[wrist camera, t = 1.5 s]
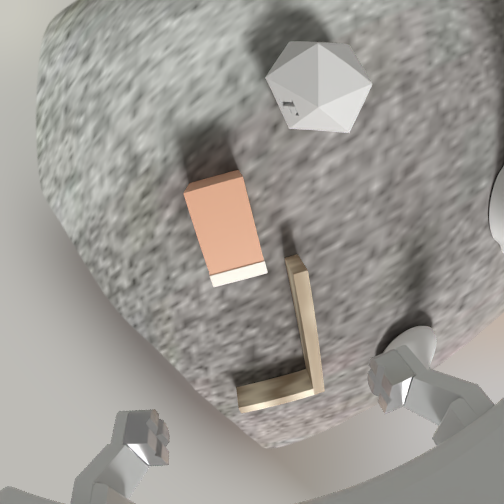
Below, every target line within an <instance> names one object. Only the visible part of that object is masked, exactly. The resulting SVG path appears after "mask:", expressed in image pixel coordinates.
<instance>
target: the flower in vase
mask: <svg viewBox="0 0 504 504" xmlns="http://www.w3.org/2000/svg"><path fill="white" fill-rule="evenodd" d="M436 342H437V338H436V334H435V332H434V330H433V329H432V328H431V327H429V326H416V327H413V328H410V329H408V330H406V331H405V332H403V333H402V334H400V335H399V336H398V337H396V338H395V339H394V340H393V341H392V342H391V343H390V344H389V345H388V347H387V348H386V349H385V351H384V352H383V353H385V352H387V351H389V350H392V349H395V348H397V347H400V346H402V345H406V346H408V348H409V349H410V350H411V351H412V352H413V353H414V355H415V356H416V357H417V358H418V359H419V361H420V362H421V363H422V364H423V365H424V367H425V368H426V369H427V370H429V369H430V364H431V361H432V358H433V355H434V352H435V349H436Z"/></svg>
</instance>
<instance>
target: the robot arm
mask: <svg viewBox="0 0 504 504" xmlns="http://www.w3.org/2000/svg"><path fill="white" fill-rule="evenodd" d="M489 223H490V229H491V233H492V236H493V238H494V239H495V240H496V241H497V242H498V243H499V244H500V247H501V250H502V252H503V253H504V166H503V168H502V169H501V171H500V173H499V174H498V176H497V179H496V181H495V184H494V187H493V191H492V195H491V201H490V210H489ZM369 366H370V368H371V369H370V371H369V372H368V377H367V379H368V385H369V387H370V390H371V391H372V393H373V394H374V395H376V396H379V399H378V403H379V405H380V407H381V408H382V410H383V412H384V413H385V414H386V413H389V412H391V411H394V410H396V409H398V408H401V407H403V406H404V407H405V408H406V409H408V410H410V411H412V412H414V413H416V414H418V415H419V416H421V417H423V418H425V419H427V420H429V421H431V422H433V423H435V424H437V425H438V428H437V430H436V431H435V433H434V435H433V438H432V439H433V440H434V442H435V444H436V445H437V446H436V447H434V448H432V449H430V450H429V451H427V452H425V453H423V454H422V455H420V456H418V457H416V458H414V459H412V460H410V461H408V462H407V463H404V464H403V465H400V466H398V467H396V468H394V469H392V470H390V471H388V472H386V473H384V474H381V475H379V476H376V477H374V478H372V479H369V480H367V481H365V482H362V483H359V484H357V485H354V486H351V487H349V488H346V489H343V490H340V491H337V492H334V493H331V494H328V495H324V496H321V497H318V498H314V499H310V500H307V501H303V502H299V503H295V504H504V398H503V399H501V400H500V401H499V402H498V403H497V404H496V405H494V403H493V402H492V401H491V400H490V398H489V397H488V396H487V395H486V394H485V393H484V391H483V390H482V389H481V388H480V387H479V386H478V384H474V383H471V382H468V381H465V380H462V379H459V378H456V377H453V376H450V375H447V374H444V373H441V372H438V371H435V370H433V369H429V370H427V369H426V368H425V367H424V365H423V364H422V363H421V362H420V361H419V359H418V358H417V357H416V356H415V355H414V353H413V352H412V351H411V350H410V349H409V348H408V346H406V345H402V346H400V347H397V348H395V349H392V350H389V351H387V352H385V353H382V354H380V355H377V356H375V357H372V358H371V359H370V360H369ZM168 443H169V430H168V427H167V426H166V423H165V422H164V421H163V420H161V419H159V414H158V413H157V411H156V410H155V409H154V410H138V411H137V410H136V411H119V412H118V413H117V415H116V419H115V424H114V429H113V434H112V439H111V444H107V446H106V447H105V448H104V449H103V450H102V451H101V452H100V453H99V454H98V455H97V456H96V457H95V458H94V460H92V462H91V463H90V464H89V465H88V466H87V467H86V468H85V469H84V470H83V471H82V472H81V473H80V474H79V476H77V477H76V479H75V482H74V487H73V492H72V498H71V504H135V503H134V502H132V501H130V500H129V498H130V496H131V495H132V493H133V492H134V490H135V489H136V487H137V485H138V484H139V482H140V481H141V479H142V478H143V476H144V475H145V473H146V471H147V470H148V468H149V466H162V465H169V451H168V449H167V448H166V446H167V444H168ZM0 504H64V503H60V502H56V501H52V500H49V499H46V498H42V497H39V496H36V495H33V494H30V493H27V492H25V491H22V490H19V489H17V488H14V487H9V486H8V487H5V488H3V489H2V490H1V491H0Z"/></svg>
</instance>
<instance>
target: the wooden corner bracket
mask: <svg viewBox="0 0 504 504" xmlns="http://www.w3.org/2000/svg"><path fill="white" fill-rule="evenodd" d="M285 263H286V268H287V273H288V278H289V282H290V287H291V292H292V297H293V302H294V307H295V312H296V318H297V323H298V328H299V333H300V338H301V344H302V349H303V355H304V360H305V366H306V369H305V370H301V371H298V372H294V373H291V374H287V375H284V376H280V377H276V378H272V379H269V380H265V381H261V382H257V383H252V384H248V385H244V386H239V387H236V388H237V397H238V406H239V409H240V411H241V413H246V412H251V411H255V410H259V409H264V408H268V407H272V406H276V405H280V404H284V403H287V402H291V401H295V400H298V399H302V398H305V397H308V396H312V395H315V394H318V393H321V392H324V382H323V374H322V365H321V357H320V349H319V342H318V334H317V327H316V320H315V313H314V306H313V300H312V293H311V287H310V281H309V275H308V270H307V268H306V267H305V265H304V264H303V262H302V261H301V259H300V258H299V256H298V254H297V255H293V256H289V257H286V258H285Z"/></svg>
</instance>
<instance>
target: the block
mask: <svg viewBox="0 0 504 504" xmlns="http://www.w3.org/2000/svg"><path fill="white" fill-rule="evenodd" d="M184 196H185V200H186V203H187V206H188V209H189V212H190V216H191V219H192V222H193V225H194V228H195V231H196V234H197V237H198V240H199V243H200V246H201V249H202V252H203V255H204V258H205V261H206V264H207V267H208V270H209V273H210V278H211V281H212V284H213V287H217V286H221V285H224V284H228V283H232V282H236V281H239V280H243V279H247V278H251V277H254V276H258V275H262V274H265V273H267V269H266V265H265V261H264V258H263V255H262V251H261V247H260V243H259V239H258V235H257V231H256V227H255V223H254V219H253V215H252V211H251V207H250V203H249V199H248V195H247V191H246V187H245V184H244V180H243V176H242V175H241V173H240V172H239V170H235V171H232V172H228V173H224V174H220V175H217V176H213V177H210V178H206V179H203V180H199V181H196V182H192V183H189V185H188V186H187V188H186V190H185V192H184Z"/></svg>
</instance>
